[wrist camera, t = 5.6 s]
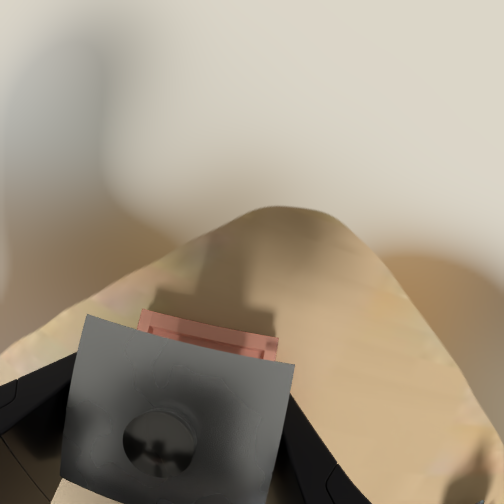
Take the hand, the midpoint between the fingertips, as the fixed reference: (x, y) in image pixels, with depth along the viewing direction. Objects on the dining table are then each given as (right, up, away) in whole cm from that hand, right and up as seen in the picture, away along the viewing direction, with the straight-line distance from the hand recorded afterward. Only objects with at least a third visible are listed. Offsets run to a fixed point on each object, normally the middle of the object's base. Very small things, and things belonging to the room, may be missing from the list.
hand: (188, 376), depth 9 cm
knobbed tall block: (-1, -5, +8) cm, 9 cm away
